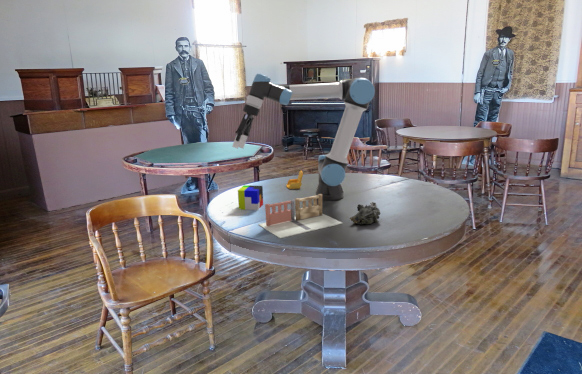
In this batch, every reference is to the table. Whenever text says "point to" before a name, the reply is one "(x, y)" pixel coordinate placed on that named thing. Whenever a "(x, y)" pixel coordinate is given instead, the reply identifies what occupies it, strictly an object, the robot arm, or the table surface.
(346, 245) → the table surface
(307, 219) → the card
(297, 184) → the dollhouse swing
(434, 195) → the table surface
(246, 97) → the robot arm
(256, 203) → the puzzle toy
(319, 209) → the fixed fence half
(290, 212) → the hinged fence half
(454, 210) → the table surface
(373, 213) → the mineral specimen
